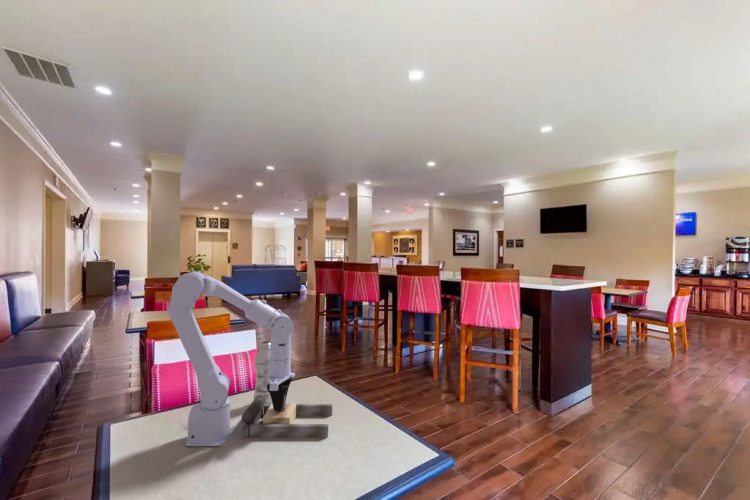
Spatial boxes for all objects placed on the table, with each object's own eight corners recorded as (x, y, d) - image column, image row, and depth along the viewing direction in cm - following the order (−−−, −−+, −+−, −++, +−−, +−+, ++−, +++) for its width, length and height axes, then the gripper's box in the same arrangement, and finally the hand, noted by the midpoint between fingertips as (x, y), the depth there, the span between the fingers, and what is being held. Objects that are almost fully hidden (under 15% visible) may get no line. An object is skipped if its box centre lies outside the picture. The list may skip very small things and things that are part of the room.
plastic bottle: (271, 409, 109) (273, 344, 109) (250, 408, 109) (251, 344, 109) (277, 400, 115) (279, 340, 115) (257, 400, 115) (258, 339, 116)
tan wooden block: (262, 433, 92) (263, 402, 92) (271, 417, 101) (272, 389, 101) (289, 432, 92) (290, 402, 92) (295, 417, 101) (296, 389, 101)
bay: (238, 442, 89) (239, 414, 89) (255, 417, 103) (256, 393, 103) (329, 442, 90) (329, 414, 90) (333, 417, 104) (334, 393, 104)
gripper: (289, 366, 89) (288, 419, 89) (299, 351, 104) (298, 396, 104) (261, 366, 89) (260, 419, 89) (275, 350, 104) (274, 396, 103)
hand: (279, 407), depth 96 cm, fingers closed on tan wooden block, 3 cm apart
